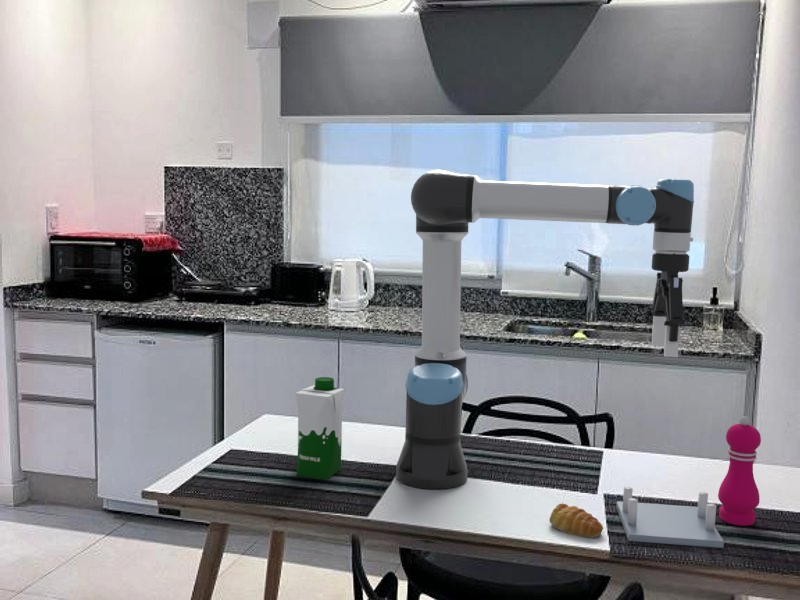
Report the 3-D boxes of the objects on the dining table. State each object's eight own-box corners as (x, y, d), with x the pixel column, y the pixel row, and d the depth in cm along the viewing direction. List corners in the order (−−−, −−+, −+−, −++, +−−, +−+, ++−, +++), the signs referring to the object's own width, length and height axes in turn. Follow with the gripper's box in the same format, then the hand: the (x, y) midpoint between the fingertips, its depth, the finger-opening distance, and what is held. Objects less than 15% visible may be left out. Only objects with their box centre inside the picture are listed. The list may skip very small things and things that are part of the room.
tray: (628, 540, 143) (630, 509, 142) (616, 507, 159) (618, 478, 158) (723, 547, 141) (726, 516, 140) (701, 513, 157) (703, 484, 156)
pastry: (610, 533, 147) (611, 512, 146) (589, 544, 142) (590, 523, 141) (565, 518, 153) (566, 498, 153) (544, 527, 149) (545, 507, 148)
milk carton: (346, 469, 177) (348, 379, 174) (327, 482, 168) (328, 387, 166) (310, 463, 180) (311, 374, 177) (290, 476, 172) (290, 383, 169)
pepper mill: (709, 512, 157) (717, 411, 155) (745, 512, 158) (753, 411, 156) (727, 527, 150) (735, 421, 148) (765, 526, 151) (774, 421, 148)
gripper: (704, 257, 161) (696, 362, 163) (676, 249, 185) (669, 341, 188) (664, 255, 162) (657, 360, 164) (642, 248, 186) (636, 340, 189)
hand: (664, 350), depth 176 cm, fingers open, 13 cm apart
